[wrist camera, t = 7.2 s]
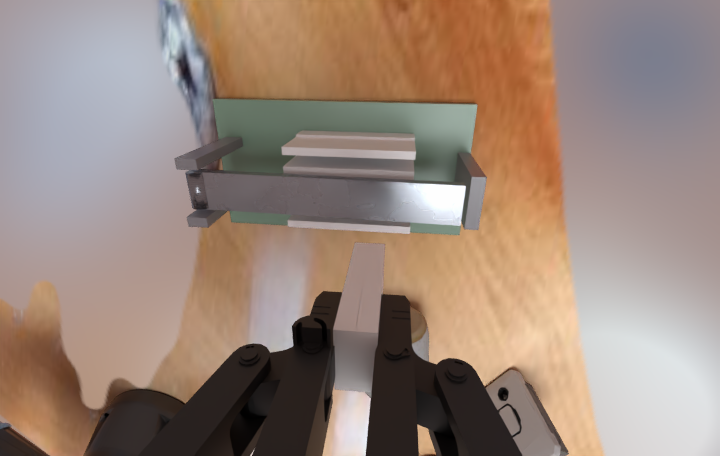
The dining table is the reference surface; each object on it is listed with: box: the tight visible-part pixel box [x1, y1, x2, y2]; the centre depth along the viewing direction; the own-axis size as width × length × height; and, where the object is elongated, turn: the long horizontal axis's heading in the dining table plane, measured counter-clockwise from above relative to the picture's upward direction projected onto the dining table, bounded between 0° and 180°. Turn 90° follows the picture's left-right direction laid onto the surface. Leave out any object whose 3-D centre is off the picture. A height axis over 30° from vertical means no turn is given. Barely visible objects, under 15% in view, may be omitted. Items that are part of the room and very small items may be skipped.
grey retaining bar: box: [186, 169, 466, 226], centre depth 27 cm, size 21×3×2 cm, turn 89°
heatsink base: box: [175, 98, 487, 235], centre depth 30 cm, size 23×12×9 cm, turn 89°
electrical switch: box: [485, 369, 569, 456], centre depth 41 cm, size 9×5×9 cm, turn 145°
